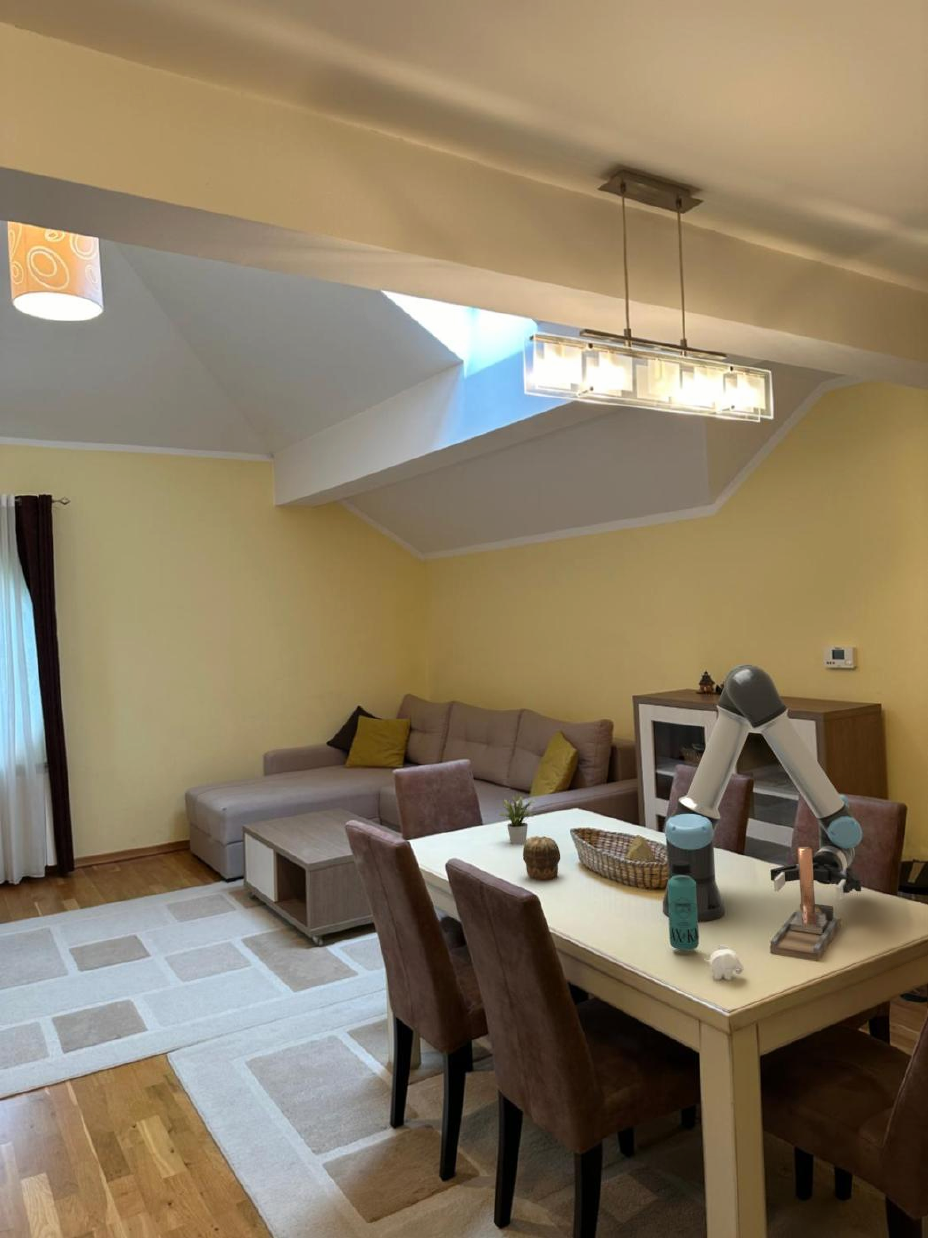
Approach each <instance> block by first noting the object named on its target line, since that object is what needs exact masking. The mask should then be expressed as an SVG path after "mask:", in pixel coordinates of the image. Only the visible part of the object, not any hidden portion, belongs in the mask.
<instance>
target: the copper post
mask: <svg viewBox="0 0 928 1238" xmlns="http://www.w3.org/2000/svg"><path fill="white" fill-rule="evenodd" d="M797 856H798V865H799V878H800V880H799V893H800V904H801V910H800V909H796V910H795V912H796V917H795V918H794V919H793V920H792V922H791V923H790V930H796V931H802V932H809V933H815V934H823V933H824V931H825V930H826V928H827V927H828V920H826V914H824V913H817V912H815V904H816V902H815V901H816V900H815V899H816V898H815V884H814V880H813V862H812V857H813V849H812V848H811V847H809V846H799V847H798V848H797Z"/></svg>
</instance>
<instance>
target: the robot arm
mask: <svg viewBox="0 0 928 1238" xmlns="http://www.w3.org/2000/svg"><path fill="white" fill-rule="evenodd" d="M723 683H724V684H723V689H722V692H721V695H720V696H719V699H718V701H717V704H716V708H717V710H718V712H719V714H718V717H717V720H716V722H715V725H714V727H713V729H712V732H711V733H710V734H711V735H710V736H709V740H708V742H707V744H706V747H705V750H704V751H703V754H702V757H701V759H700V762H699V765H698V766H697V769H696V771H695V774H694V777H693V779H692V780H691V781H692V782H691V784H690V787H689V789H688V792H687V794H686V795H684V796H682V797H679V799H678V801H677V803H676V806H675V808H674V810H673V813H671V815H670V817H669V818H668V819H667V821H666V822H665V828H664V834H665V835H664V836H665V842H666V844H665V845H666V859H667V860H666V861H667V863H666V865H667V876H668V877H667V878H668V881H669V880H670V879H671V878H672V877H673V876H677V875H684V876H689V877H691V878H692V879H693V880H694V881H695V882H696V898H697V908H698V909H697V916H698V922H707V921H712V920H717V919H719V918H721V917H722V916H724V914H725V903H724V900H723V897H722V895H721V892H720V890H719V887H718V884H717V882H716V867H715V862H716V861H715V849H714V836H715V835H714V834H715V833H716V832H715V831H716V830H717V827H718V825H719V822H720V819H721V814H720V812H719V809H718V808H719V806H720V804H721V801H722V799H723V796H724V795H725V791H726V789H727V787H728V785H729V783H730V780H731V776H732V774H733V771H734V770H735V767H736V764H737V762H738V760H739V758H740V755H741V752H742V750H743V748H744V745H745V743H746V741H747V737H748V735H749V733H750V731H751V727H752V729H753V730H757V731H759V732H760V734H761V735H762V736H763V738H764V739H765V741H766V742H767V744H768V746H769V747H770V749H771V751H773V753H774V755H775V756H776V758H777V759H778V761H779V762H780V764H781V765H782V767H783V769H784V770H785V772H786V773H787V774H788V776H789V778H790V779H791V781H792V782H793V784H794V786H795V787H796V788H797V790H798V792H800V794H801V796H802V797H803V799H804V801H805V802H806V803H807V805H808V807H809V809H810V810H811V811H812V813H813V814H814V816H815V818H816V819H817V820H818V822H817V823H818V839H819V840H818V842H819V850H817V851H816V852H815V853H814V855H812V862H813V880H814V881H816V882H817V883H820V884H822V885H836V887H835V889H836V890H835V891H836V893H835V895H836V900H839V901H840V900H842V898H843V897H844V895H846V894H849V893H850V892H852V891H853V890H855V892H857V893H859V892H862V883H861V882H862V880H861V879H860V878H859V877H858V876H857V875H856V874H855V873H854V872H853V869H852V868H848V867H850V866H851V865H852V863H853V861H854V857H855V848H854V847H856V846H858V845H859V844H860V842H861V841H862V838H863V830H862V829H863V828H862V827H861V824H860V823H859V821H858V820H857V819H856V818H855V817H854V815H853V814H852V812H851V811H850V808H851V807H850V805H849V799H848V797H847V796H846V795H844V794H839V793H838V791H837V789H836V788H835V786H834V785H833V784H832V782H831V781H830V779H829V777H828V776H827V774H826V773H825V771H824V770H823V768H822V767H821V765H820V763H819V762H818V761H817V759H816V757H815V756H814V755H813V752H811V750H810V748H809V746H808V745H807V744H806V742H805V741H804V739H803V738H802V736H801V734H800V733H799V731H798V730H797V728H796V726H795V725H794V724H793V722H792V721H791V719H790V718H789V717H788V712H789V709H788V708H787V706H786V705H785V704H786V703H784V701H783V699H782V697H781V696H780V693H779V691H778V689H777V687H776V685H775V683H774V680H773V678H772V677H771V676H770V674H768V672H766V671H765V670H764V669H762V668H761V667H759V666H756V665H752V664H743V665H742V664H741V665H738V666H737V667H733V669H732V670H731V671H729V673H727V675H726V677H725V679H724V682H723ZM676 861H685V862H688V863H689V864H690V869H691V873H689V874H675V873H672V863H673V862H676ZM770 880H771V881H772V882H773V883H774V884H773V885H774V892H779V891H780V890H781V889H782V888H783V887H784V886H785V885H786V883H787V882H793V881H800V878H799V862H792V863H790V864H787V865H783V866H779V867H776V868H772V869H770ZM668 881H667V882H668ZM668 908H669V900H668V883H666V887H665V892H664V895H663V899H662V912H663V914H664V915H666V916H668V915H669V909H668Z"/></svg>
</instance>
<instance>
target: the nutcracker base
mask: <svg viewBox="0 0 928 1238" xmlns="http://www.w3.org/2000/svg"><path fill="white" fill-rule="evenodd" d="M799 906H800V907H799V908H800V909H799V910H801V903H800V904H799ZM815 912H817V913H824V914H826V920H828V927H827V928H826V930H825V931H824V933H823V934H815V933H809V932H802V931H796V930H790V923H791V922H792V920H793V919H794V918H795V917H796V911H794V912H792V914H791V915H790V917H788V919H787V920H786V921H785V923H784V924H783V925H782V926H781V927H780V929H778V931H777V932H776V933H775V934H774V936H773V937H772V938H771V939H770V940H769V941H770V942H769V943H770V946H769V951H770V954H775V955H780V956H781V955H782V956H786V957H792V958H796V959H797V958H798V959H803V960H810V961H816V962H819V961H820V960H821V958H822V956H823V955H824V953H825V952H826V950H827V948H828V947H829V945H831V942H832V941H833V939H834V937H835V936H836V934H837V933H838V931H839V930H840V929H841V927H842V919H841V918H839V917H835V916H834V906H833V905H825V904H820V903H819V904H818V903H815Z"/></svg>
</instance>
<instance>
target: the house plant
mask: <svg viewBox="0 0 928 1238" xmlns="http://www.w3.org/2000/svg"><path fill="white" fill-rule="evenodd" d="M512 799H513V801H512V803H513V807H514V809H513V807H512V805H511V803H510V802H509V801H508V800H507V799H506V798H503V800H504V802H505V804H506V805H504V804H503V803H500V804H501V806H503V807H504V808H505V810H507V814H504V813H503V814H500V815H499V816H500V817H506V818H508V819H509V820H510V823H508V824H507V825H506V827H507V831H508V835H509V841H510V843H513V844H512V845H514V844H521V845H525V844H524V843H525V842H526V841H527V836H528V828H529V827H528V826H529V825H528V823H526V822H525V821H526V819H528V818H529V816H530V817H533V815H534V814H531V813H530V812H531V811H533V809H530V810H528V811H526V810H527V808H530V807H531V806H532V804H534V803H535V801H536V800H537V798H536V799H532V800H530V801H529V802H527V803H526V804H525V805H524V806H523V803H524V801H523V800H524V797H522V795H520V797H519V800H518V803H517V801H516V799H515V796H512ZM525 817H526V818H525Z"/></svg>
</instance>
